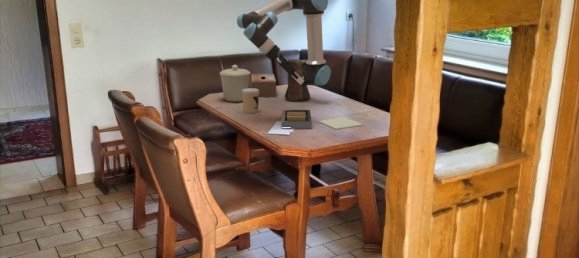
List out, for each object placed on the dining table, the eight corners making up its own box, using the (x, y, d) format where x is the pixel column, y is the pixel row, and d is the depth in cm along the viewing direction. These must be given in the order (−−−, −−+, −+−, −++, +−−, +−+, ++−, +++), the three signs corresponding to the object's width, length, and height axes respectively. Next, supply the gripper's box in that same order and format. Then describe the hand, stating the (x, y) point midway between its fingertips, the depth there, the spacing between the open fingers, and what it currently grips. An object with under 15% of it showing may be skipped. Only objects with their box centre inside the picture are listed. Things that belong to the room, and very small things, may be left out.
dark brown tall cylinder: (287, 96, 289) (287, 58, 283) (301, 96, 290) (301, 58, 284) (288, 100, 282) (288, 61, 276) (303, 100, 282) (303, 60, 276)
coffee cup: (257, 114, 301) (256, 92, 297) (240, 113, 302) (239, 91, 299) (261, 109, 309) (261, 88, 306) (245, 109, 311) (244, 87, 308)
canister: (239, 95, 344) (238, 61, 339) (257, 100, 331) (256, 65, 325) (214, 99, 333) (213, 64, 327) (232, 105, 320) (231, 68, 314)
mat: (344, 118, 292) (344, 117, 292) (362, 125, 279) (362, 124, 279) (318, 122, 284) (318, 121, 284) (336, 129, 271) (336, 128, 271)
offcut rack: (282, 116, 296) (282, 109, 295) (309, 116, 296) (310, 109, 295) (281, 128, 273) (281, 121, 272) (311, 128, 273) (311, 121, 272)
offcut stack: (287, 124, 281) (287, 111, 279) (305, 124, 281) (305, 112, 279) (287, 126, 277) (287, 114, 275) (305, 126, 277) (305, 114, 275)
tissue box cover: (276, 98, 339) (276, 81, 336) (252, 98, 338) (251, 82, 335) (273, 89, 363) (273, 73, 361) (251, 89, 362) (251, 74, 360)
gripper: (265, 51, 289) (297, 82, 294) (263, 57, 270) (297, 90, 274) (275, 41, 287) (307, 72, 292) (274, 46, 268) (308, 79, 273)
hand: (302, 81), depth 283 cm, fingers closed on dark brown tall cylinder, 7 cm apart
